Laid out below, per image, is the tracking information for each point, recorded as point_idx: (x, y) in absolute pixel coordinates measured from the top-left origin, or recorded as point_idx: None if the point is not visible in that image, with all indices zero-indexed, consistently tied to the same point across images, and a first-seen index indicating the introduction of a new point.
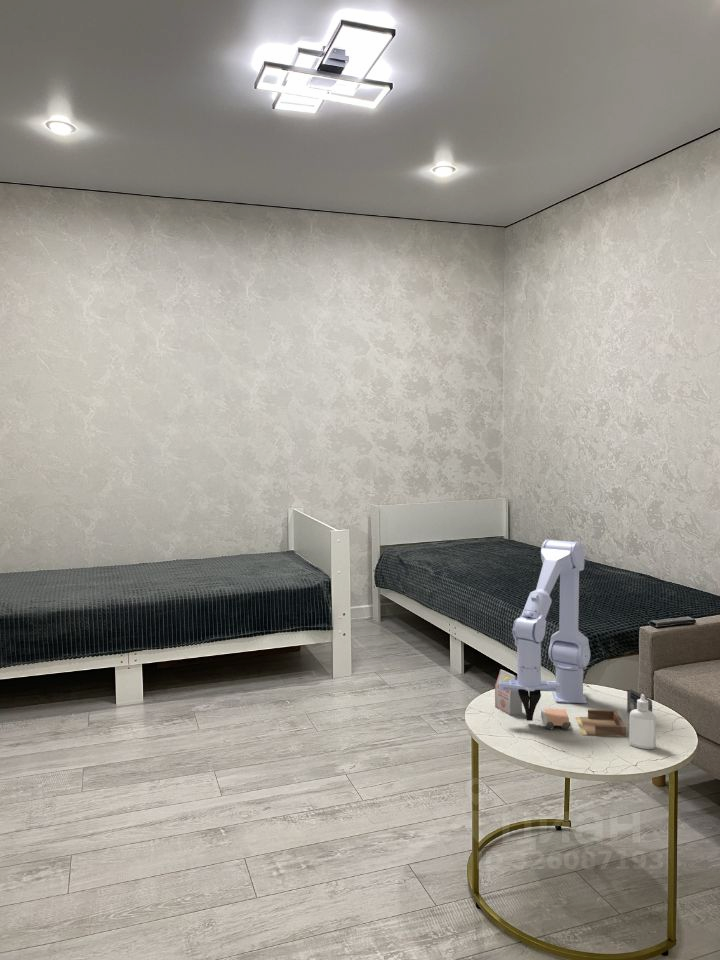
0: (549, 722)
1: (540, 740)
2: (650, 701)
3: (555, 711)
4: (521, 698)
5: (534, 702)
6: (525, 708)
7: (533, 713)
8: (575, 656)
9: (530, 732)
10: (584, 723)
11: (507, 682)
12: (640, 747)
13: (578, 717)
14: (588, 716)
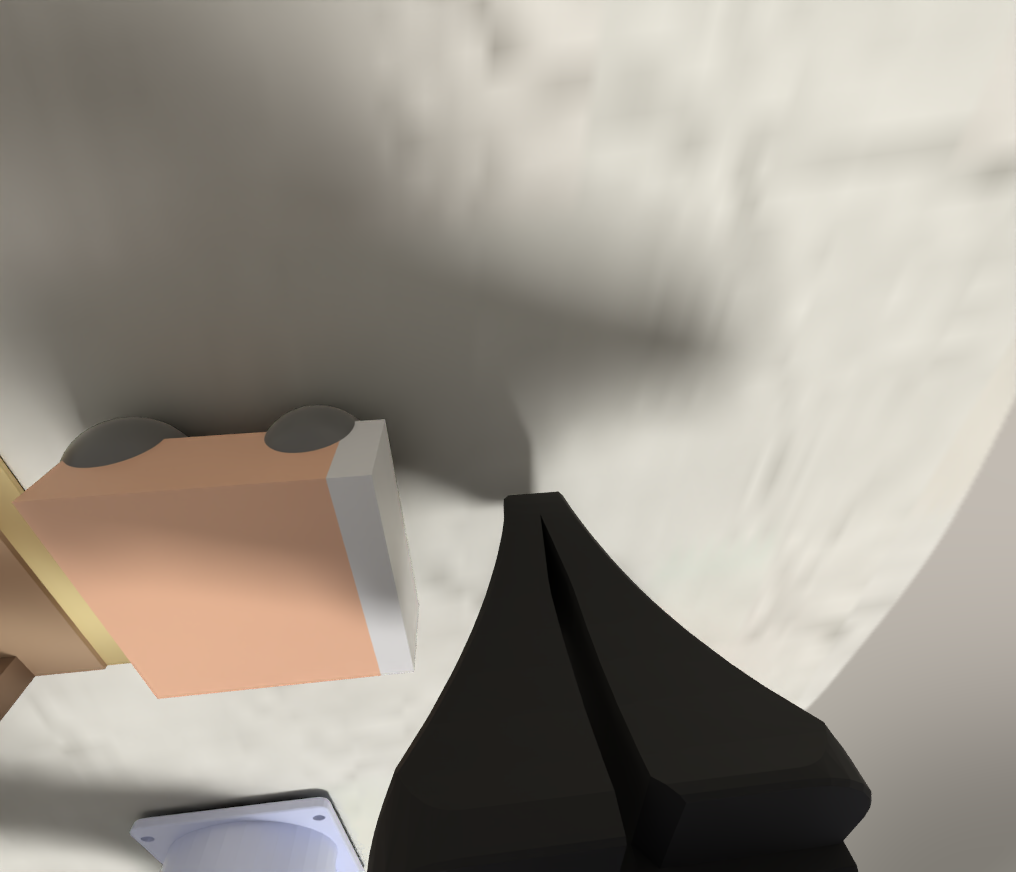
0: (306, 442)
1: (421, 45)
2: None
3: (251, 646)
4: (792, 714)
5: (506, 676)
6: (621, 581)
7: (502, 545)
8: None
9: (533, 313)
10: (6, 572)
11: None
12: None
13: (116, 662)
14: (2, 674)
